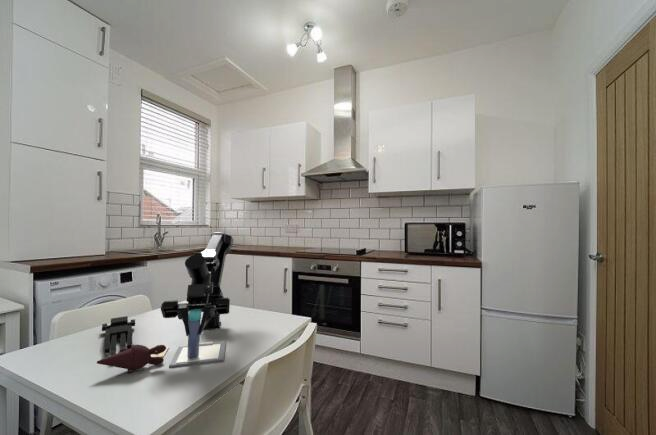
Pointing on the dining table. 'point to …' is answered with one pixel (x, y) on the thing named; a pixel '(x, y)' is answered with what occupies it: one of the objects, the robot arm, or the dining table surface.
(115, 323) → the toy
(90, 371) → the dining table surface
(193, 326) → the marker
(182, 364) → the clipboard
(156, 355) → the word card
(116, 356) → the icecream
